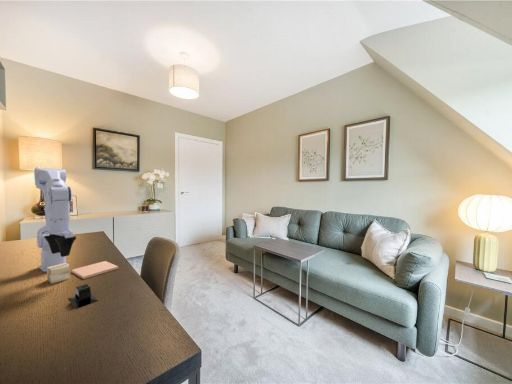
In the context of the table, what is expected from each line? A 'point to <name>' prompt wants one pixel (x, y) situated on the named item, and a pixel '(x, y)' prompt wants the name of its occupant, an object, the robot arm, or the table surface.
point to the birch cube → (58, 273)
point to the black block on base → (82, 296)
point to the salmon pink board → (94, 269)
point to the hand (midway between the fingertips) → (60, 254)
